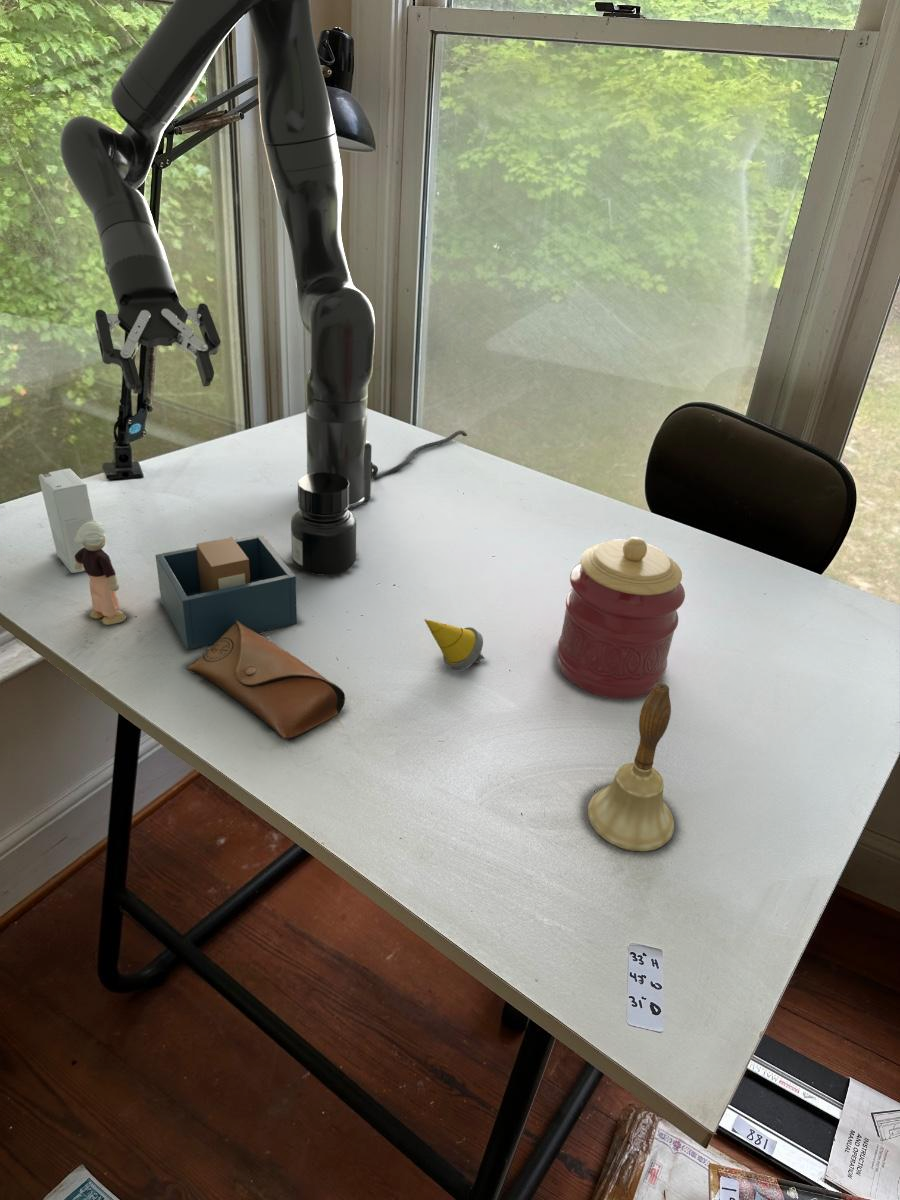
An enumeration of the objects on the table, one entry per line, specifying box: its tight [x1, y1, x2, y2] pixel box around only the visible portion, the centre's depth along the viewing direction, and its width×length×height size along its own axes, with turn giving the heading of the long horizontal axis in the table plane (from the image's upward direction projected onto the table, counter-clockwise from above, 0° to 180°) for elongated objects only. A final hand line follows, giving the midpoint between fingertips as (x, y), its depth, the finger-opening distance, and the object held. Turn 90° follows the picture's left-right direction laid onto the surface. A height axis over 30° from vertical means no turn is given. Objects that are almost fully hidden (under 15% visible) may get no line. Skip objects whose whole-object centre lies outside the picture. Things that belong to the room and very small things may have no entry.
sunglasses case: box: [187, 620, 346, 740], centre depth 93 cm, size 18×7×7 cm
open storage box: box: [155, 534, 298, 651], centre depth 105 cm, size 14×12×7 cm
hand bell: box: [587, 682, 675, 852], centre depth 77 cm, size 8×8×16 cm
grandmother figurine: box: [74, 520, 127, 626], centre depth 101 cm, size 8×4×13 cm, turn 65°
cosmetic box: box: [38, 467, 94, 574], centre depth 111 cm, size 6×4×12 cm
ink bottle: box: [290, 472, 358, 576], centre depth 116 cm, size 10×9×12 cm
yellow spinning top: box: [424, 618, 486, 672], centre depth 99 cm, size 5×5×10 cm
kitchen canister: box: [556, 536, 686, 700], centre depth 98 cm, size 13×13×18 cm
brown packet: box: [195, 536, 250, 593], centre depth 104 cm, size 4×6×8 cm
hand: (173, 387), depth 105 cm, fingers open, 8 cm apart
